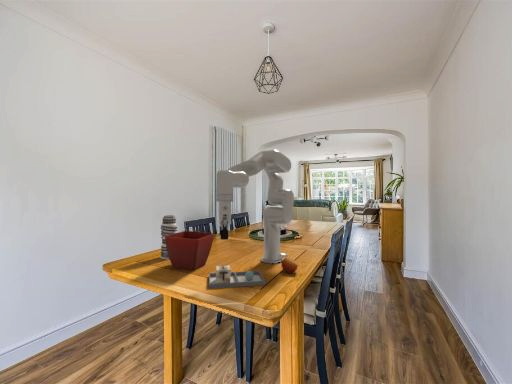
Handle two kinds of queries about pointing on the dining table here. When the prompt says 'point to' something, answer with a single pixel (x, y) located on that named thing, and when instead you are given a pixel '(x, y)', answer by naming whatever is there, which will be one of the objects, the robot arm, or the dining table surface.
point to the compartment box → (237, 280)
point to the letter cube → (223, 274)
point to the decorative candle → (167, 232)
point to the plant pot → (189, 249)
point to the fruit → (289, 265)
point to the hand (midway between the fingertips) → (223, 237)
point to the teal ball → (249, 275)
